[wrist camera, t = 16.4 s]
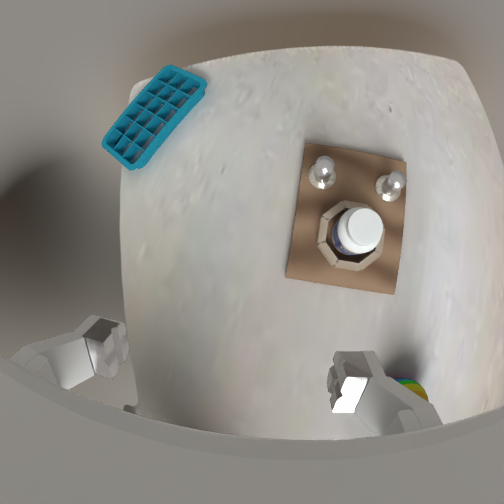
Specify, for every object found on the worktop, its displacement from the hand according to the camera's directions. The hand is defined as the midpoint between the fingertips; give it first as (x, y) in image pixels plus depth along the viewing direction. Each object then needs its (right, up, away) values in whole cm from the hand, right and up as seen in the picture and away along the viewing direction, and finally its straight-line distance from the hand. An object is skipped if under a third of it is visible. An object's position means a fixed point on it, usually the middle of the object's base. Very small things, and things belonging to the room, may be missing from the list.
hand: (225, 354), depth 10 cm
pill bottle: (+15, +6, +28) cm, 32 cm away
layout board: (+15, +9, +29) cm, 34 cm away
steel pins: (+16, +14, +28) cm, 35 cm away
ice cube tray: (-16, +28, +35) cm, 48 cm away
